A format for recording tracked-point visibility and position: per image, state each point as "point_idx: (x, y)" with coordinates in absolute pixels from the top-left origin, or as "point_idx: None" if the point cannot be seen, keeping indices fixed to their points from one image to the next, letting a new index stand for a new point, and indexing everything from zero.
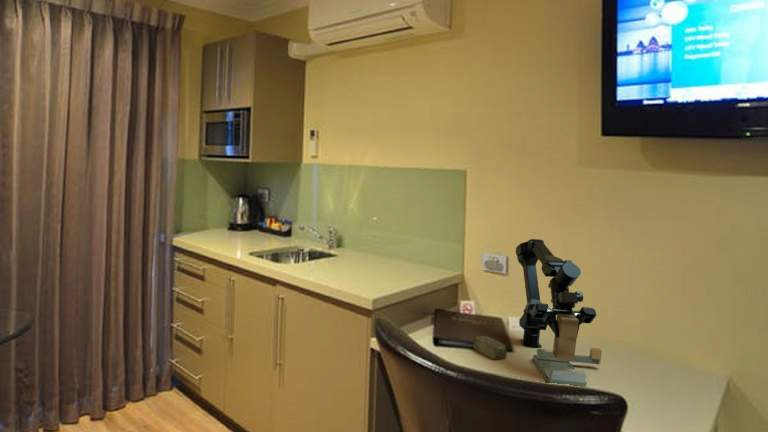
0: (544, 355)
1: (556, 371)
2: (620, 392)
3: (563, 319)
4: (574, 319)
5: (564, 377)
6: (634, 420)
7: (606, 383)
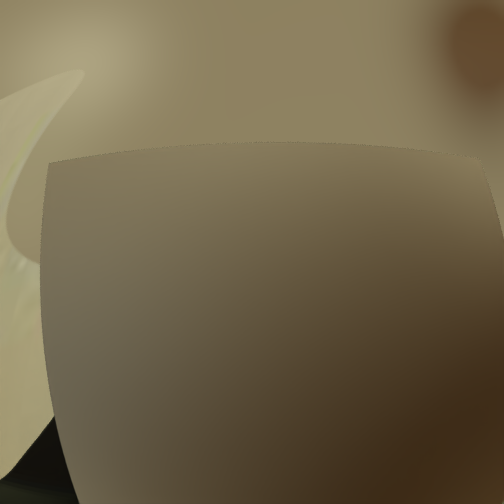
0: None
1: None
2: (15, 262)
3: (449, 165)
4: (172, 179)
5: None
6: (73, 84)
7: (36, 337)
